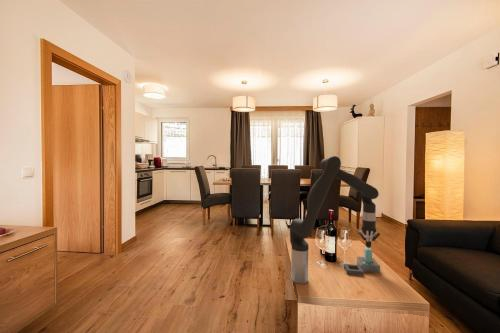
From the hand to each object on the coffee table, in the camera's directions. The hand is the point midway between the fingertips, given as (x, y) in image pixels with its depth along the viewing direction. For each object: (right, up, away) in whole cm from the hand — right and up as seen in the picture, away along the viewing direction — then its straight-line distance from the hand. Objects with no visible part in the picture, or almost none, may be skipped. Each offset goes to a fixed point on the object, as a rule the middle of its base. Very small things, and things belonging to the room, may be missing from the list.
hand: (368, 247), depth 149 cm
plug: (0, -13, 0) cm, 13 cm away
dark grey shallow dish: (-11, -13, -5) cm, 18 cm away
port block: (0, -13, 0) cm, 13 cm away
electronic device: (-18, -13, +22) cm, 32 cm away
